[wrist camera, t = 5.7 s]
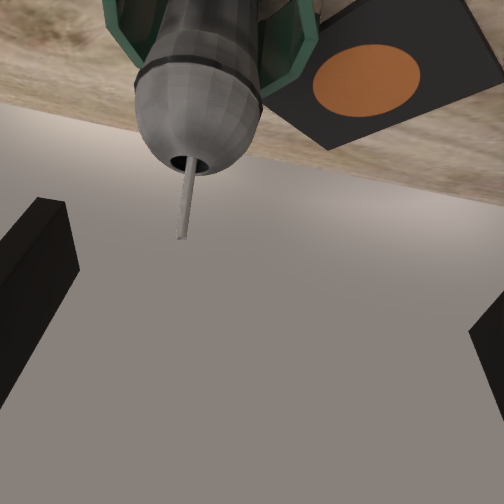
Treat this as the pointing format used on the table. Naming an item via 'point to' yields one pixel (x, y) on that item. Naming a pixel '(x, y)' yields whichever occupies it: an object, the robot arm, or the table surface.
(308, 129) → the mat
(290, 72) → the pot
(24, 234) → the robot arm
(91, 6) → the table surface
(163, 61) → the beverage cup
